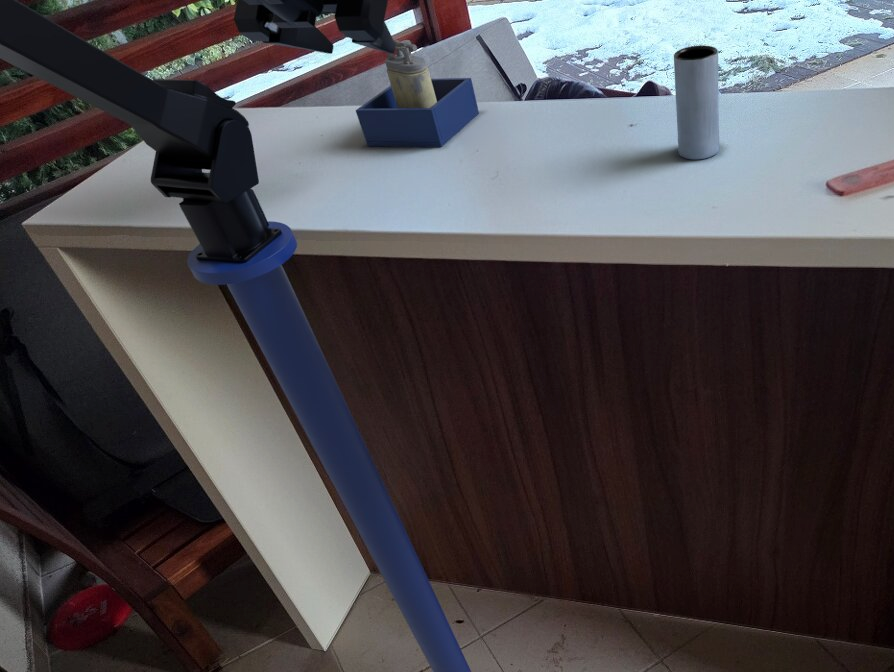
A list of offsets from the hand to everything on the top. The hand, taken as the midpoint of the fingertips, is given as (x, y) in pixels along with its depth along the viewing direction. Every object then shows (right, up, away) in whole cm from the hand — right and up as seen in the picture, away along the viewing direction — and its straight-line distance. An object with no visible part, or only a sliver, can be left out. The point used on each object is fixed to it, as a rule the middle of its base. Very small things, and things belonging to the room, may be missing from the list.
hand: (362, 49), depth 87 cm
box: (+4, -4, +13) cm, 14 cm away
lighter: (+4, -4, +12) cm, 13 cm away
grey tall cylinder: (+39, -14, -3) cm, 41 cm away
